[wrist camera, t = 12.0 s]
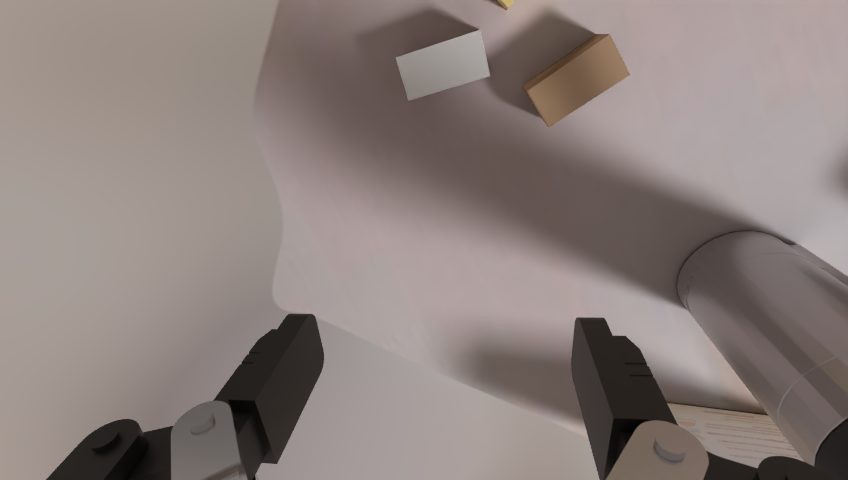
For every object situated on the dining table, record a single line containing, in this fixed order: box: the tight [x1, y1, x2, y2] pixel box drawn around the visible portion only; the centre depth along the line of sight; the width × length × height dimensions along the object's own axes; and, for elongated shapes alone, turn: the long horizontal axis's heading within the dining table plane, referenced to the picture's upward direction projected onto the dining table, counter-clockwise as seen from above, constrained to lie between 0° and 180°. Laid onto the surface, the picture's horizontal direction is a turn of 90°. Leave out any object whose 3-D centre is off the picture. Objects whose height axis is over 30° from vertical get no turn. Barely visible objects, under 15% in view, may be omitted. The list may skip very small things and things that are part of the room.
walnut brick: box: [523, 34, 630, 127], centre depth 30 cm, size 6×3×4 cm, turn 126°
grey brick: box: [396, 30, 490, 101], centre depth 30 cm, size 6×3×4 cm, turn 107°
